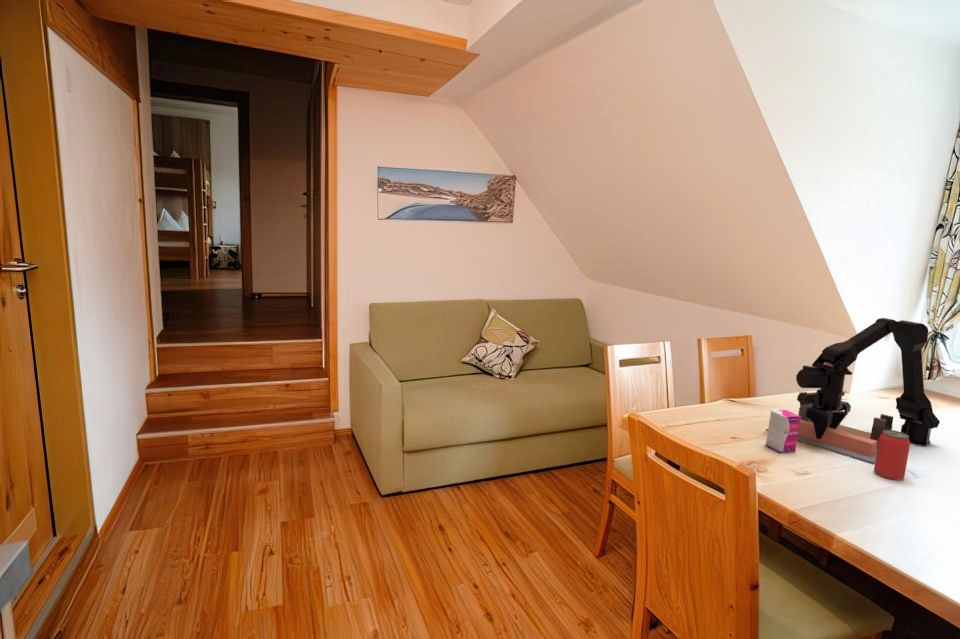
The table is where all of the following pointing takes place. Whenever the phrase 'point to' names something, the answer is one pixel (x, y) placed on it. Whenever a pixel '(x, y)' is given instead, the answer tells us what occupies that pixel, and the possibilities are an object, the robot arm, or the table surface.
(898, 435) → the beer can
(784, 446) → the supplement box
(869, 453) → the rail
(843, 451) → the slate mat
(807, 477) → the table surface
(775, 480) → the table surface
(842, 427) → the rail rack
